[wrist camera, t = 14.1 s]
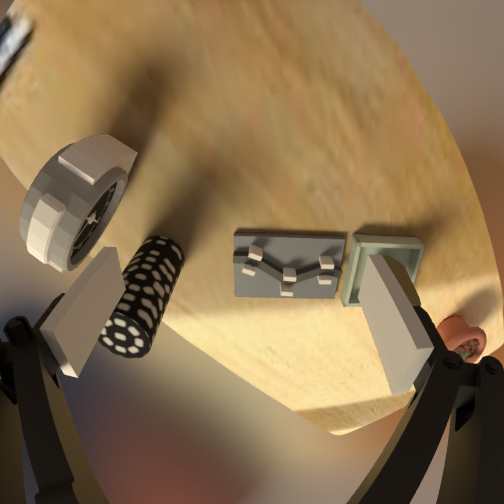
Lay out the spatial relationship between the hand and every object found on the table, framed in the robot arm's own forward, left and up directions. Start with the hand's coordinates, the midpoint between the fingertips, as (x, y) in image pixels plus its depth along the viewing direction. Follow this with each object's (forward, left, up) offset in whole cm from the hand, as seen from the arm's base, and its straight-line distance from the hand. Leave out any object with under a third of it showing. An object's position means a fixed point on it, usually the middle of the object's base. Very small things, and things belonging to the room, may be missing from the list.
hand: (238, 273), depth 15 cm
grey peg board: (+19, +6, -32) cm, 37 cm away
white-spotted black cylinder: (+18, -16, -32) cm, 40 cm away
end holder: (+19, +23, -32) cm, 44 cm away
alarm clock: (+4, -24, -32) cm, 40 cm away
